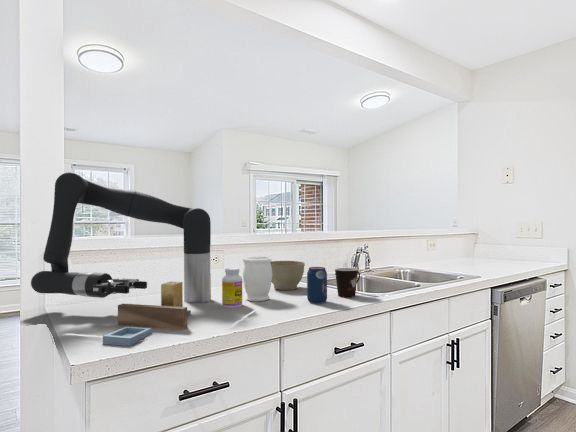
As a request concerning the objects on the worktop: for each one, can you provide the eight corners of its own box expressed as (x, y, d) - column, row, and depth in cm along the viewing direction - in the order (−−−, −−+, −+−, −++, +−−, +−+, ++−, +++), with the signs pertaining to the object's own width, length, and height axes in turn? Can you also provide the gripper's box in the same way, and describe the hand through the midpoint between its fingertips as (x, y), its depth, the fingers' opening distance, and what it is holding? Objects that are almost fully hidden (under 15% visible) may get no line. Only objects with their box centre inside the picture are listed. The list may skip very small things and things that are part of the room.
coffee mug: (340, 298, 144) (340, 271, 144) (331, 294, 153) (331, 268, 153) (369, 296, 148) (369, 269, 148) (359, 292, 156) (358, 267, 156)
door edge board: (122, 325, 111) (122, 303, 111) (187, 329, 106) (187, 307, 106) (117, 327, 109) (117, 305, 109) (183, 331, 104) (183, 308, 104)
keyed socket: (126, 333, 103) (126, 326, 103) (151, 335, 101) (151, 328, 101) (102, 343, 94) (102, 335, 94) (130, 345, 92) (130, 338, 92)
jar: (238, 301, 142) (238, 259, 142) (250, 295, 151) (249, 256, 152) (265, 303, 138) (265, 259, 138) (276, 297, 148) (276, 257, 148)
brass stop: (170, 314, 120) (170, 281, 120) (182, 315, 119) (182, 282, 119) (161, 318, 115) (161, 284, 115) (173, 319, 114) (173, 284, 114)
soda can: (328, 304, 136) (327, 268, 136) (307, 304, 136) (307, 269, 136) (326, 300, 143) (325, 266, 143) (306, 300, 143) (306, 266, 143)
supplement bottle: (235, 310, 128) (235, 270, 128) (218, 308, 131) (218, 269, 131) (246, 305, 134) (245, 267, 134) (229, 304, 137) (229, 266, 137)
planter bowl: (284, 293, 156) (284, 265, 156) (258, 288, 168) (258, 262, 168) (313, 288, 166) (312, 262, 166) (287, 283, 178) (286, 259, 178)
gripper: (75, 275, 117) (122, 278, 113) (108, 269, 131) (152, 272, 127) (74, 301, 117) (122, 304, 113) (108, 292, 131) (151, 295, 127)
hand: (137, 287), depth 120 cm, fingers open, 8 cm apart
